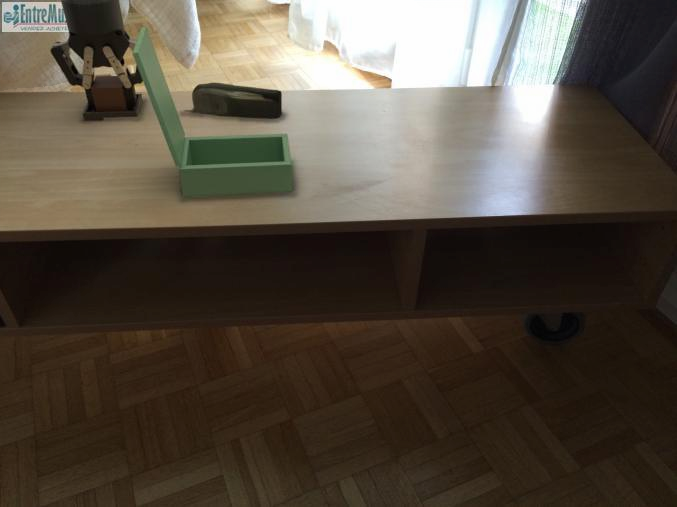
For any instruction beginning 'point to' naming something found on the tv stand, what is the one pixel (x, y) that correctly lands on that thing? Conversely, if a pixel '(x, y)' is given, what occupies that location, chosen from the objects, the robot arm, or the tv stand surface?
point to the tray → (112, 112)
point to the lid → (159, 94)
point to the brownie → (108, 94)
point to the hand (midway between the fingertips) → (114, 108)
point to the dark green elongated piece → (236, 101)
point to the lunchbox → (236, 165)
